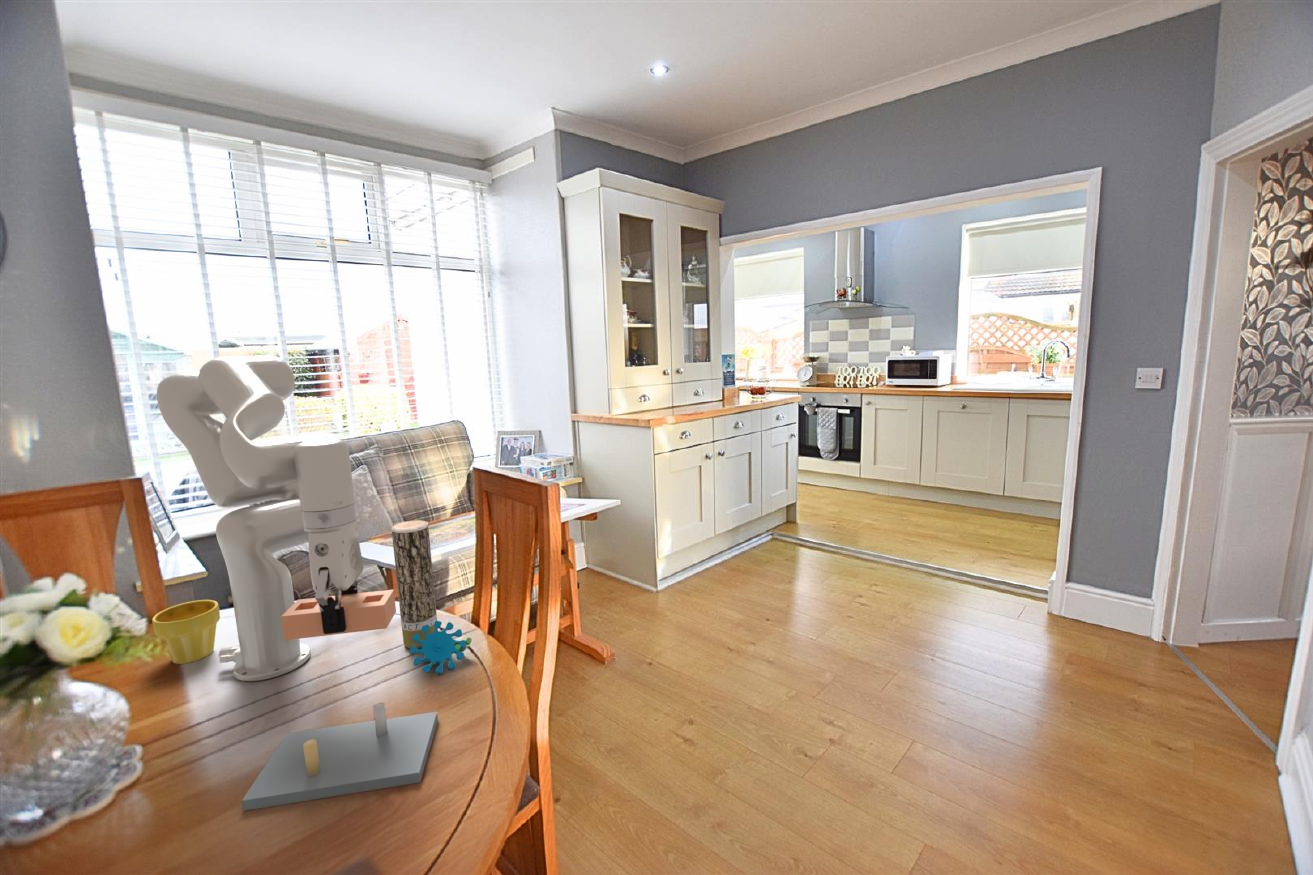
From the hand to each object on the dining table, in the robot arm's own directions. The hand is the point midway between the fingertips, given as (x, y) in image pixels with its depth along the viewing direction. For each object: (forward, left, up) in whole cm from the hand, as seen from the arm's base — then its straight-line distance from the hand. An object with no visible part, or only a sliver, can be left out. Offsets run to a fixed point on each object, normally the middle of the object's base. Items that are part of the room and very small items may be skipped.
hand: (342, 621), depth 95 cm
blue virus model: (+13, +11, -16) cm, 23 cm away
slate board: (+4, -14, -16) cm, 21 cm away
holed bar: (0, 0, -1) cm, 1 cm away
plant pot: (-38, +28, -16) cm, 50 cm away
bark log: (+7, +22, -16) cm, 28 cm away
